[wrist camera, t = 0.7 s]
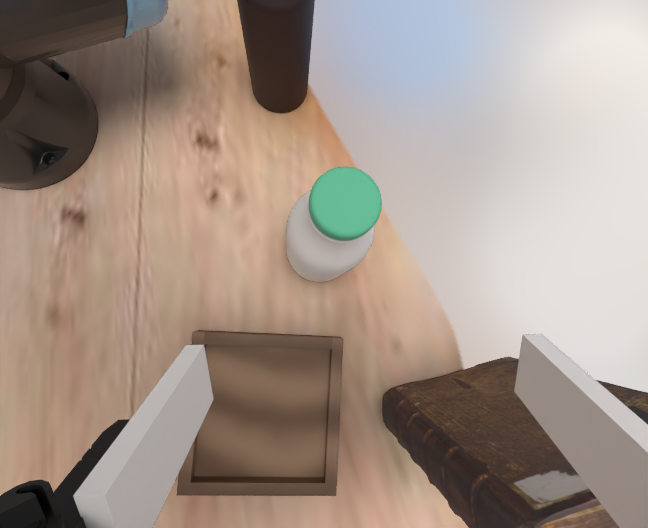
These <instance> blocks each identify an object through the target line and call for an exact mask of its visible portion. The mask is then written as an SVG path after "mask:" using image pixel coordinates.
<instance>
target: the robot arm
mask: <svg viewBox="0 0 648 528" xmlns="http://www.w3.org/2000/svg"><path fill="white" fill-rule="evenodd" d="M167 9H168V0H0V186H1V187H5V188H10V189H21V190H23V189H36V188H41V187H45V186H48V185H51V184H54V183H56V182H58V181H60V180H62V179H64V178H66V177H67V176H69V175H70V174H72V173H73V172H74V171H75V170H76V169H78V168H79V167H80V166H81V164H82V163H83V162H84V161H85V160H86V158H87V157H88V155H89V154H90V152H91V150H92V148H93V146H94V143H95V140H96V136H97V130H98V118H97V112H96V108H95V105H94V103H93V100H92V99H91V97H90V95H89V93H88V92H87V91H86V89H85V88H84V87H83V86H82V85H81V84H80V83H79V81H78V80H77V79H76V78H75V77H74V76H73V75H72V74H71V73H70V72H69V71H68V70H66V69H65V68H64V67H63V66H61V65H60V64H58V63H57V62H55V61H54V60H52V59H50V58H48V57H52V56H56V55H59V54H63V53H66V52H70V51H74V50H77V49H81V48H85V47H88V46H92V45H95V44H99V43H103V42H106V41H110V40H114V39H117V38H121V37H122V38H128V37H129V36H131V35H132V33H133V32H136V31H139V30H142V29H145V28H148V27H151V26H153V25H156V24H158V23H159V22H161V21H162V20H163V18H164V16H165V15H166V13H167ZM514 392H515V393H516V394H517V395H518V397H519V398H520V399H521V401H522V402H523V403H524V405H525V406H526V407H527V408H528V410H529V411H530V412H531V414H532V415H533V416H534V417H535V419H536V420H537V421H538V423H539V424H540V425H541V427H542V428H543V429H544V430H545V432H546V433H547V434H548V436H549V437H550V438H551V439H552V441H553V442H554V443H555V445H556V446H557V447H558V449H559V450H560V451H561V452H562V454H563V455H564V456H565V458H566V459H567V460H568V462H569V463H570V464H571V465H572V467H573V468H574V469H575V471H576V472H577V473H578V474H579V476H580V477H581V478H582V480H583V481H584V482H585V484H586V485H587V486H588V487H589V489H590V490H591V491H592V493H593V494H594V495H595V497H596V498H597V499H598V500H599V502H600V503H601V504H602V506H603V507H604V508H605V509H606V511H607V512H608V513H609V515H610V516H611V517H612V519H613V520H614V521H615V522H616V524H617V525H618V526H619V528H648V413H646V412H644V411H643V410H641V409H639V408H637V407H635V406H625V405H624V404H623V403H622V402H621V401H620V400H618V399H617V398H616V397H615V396H614V395H613V394H611V393H610V392H609V391H608V390H607V389H606V388H604V387H603V386H602V385H601V384H600V383H599V382H597V381H596V380H595V379H594V378H593V377H592V376H590V375H589V374H588V373H587V372H586V371H584V370H583V369H582V368H581V367H580V366H579V365H577V364H576V363H575V362H574V361H573V360H572V359H571V358H569V357H568V356H567V355H566V354H565V353H563V352H562V351H561V350H560V349H559V348H558V347H557V346H555V345H554V344H553V343H552V342H551V341H549V340H548V339H547V338H546V337H545V336H544V335H542V334H525V335H523V336H522V343H521V349H520V357H519V363H518V369H517V376H516V383H515V390H514ZM212 402H213V393H212V387H211V382H210V376H209V370H208V364H207V359H206V353H205V347H204V345H186V346H185V347H184V349H183V350H182V351H181V353H180V354H179V355H178V357H177V358H176V359H175V361H174V362H173V363H172V365H171V366H170V367H169V369H168V370H167V371H166V373H165V374H164V375H163V377H162V378H161V379H160V381H159V382H158V383H157V385H156V386H155V387H154V389H153V390H152V391H151V393H150V394H149V395H148V397H147V398H146V399H145V401H144V402H143V403H142V405H141V406H140V407H139V409H138V410H137V411H136V413H135V414H134V415H133V417H132V418H131V419H130V420H118V421H117V422H115V423H114V424H113V425H111V426H110V427H109V428H107V429H106V430H105V431H104V432H102V434H101V435H100V436H99V437H98V439H97V440H96V441H95V442H94V444H93V445H92V447H91V449H89V450H88V451H87V452H86V453H85V455H84V456H83V457H82V460H81V461H79V462H78V463H77V464H76V466H75V467H74V468H73V469H72V471H71V472H70V473H69V474H68V475H67V477H66V478H65V479H64V480H63V482H62V483H61V484H60V485H59V487H58V488H57V489H56V490H55V491H54V493H53V490H52V488H51V486H50V484H49V482H46V481H43V480H35V481H29V482H26V483H23V484H21V485H18V486H16V487H14V488H12V489H11V490H9V491H7V492H5V493H4V494H2V495H1V496H0V528H153V526H154V524H155V522H156V520H157V518H158V516H159V514H160V511H161V509H162V507H163V505H164V503H165V501H166V499H167V497H168V495H169V492H170V490H171V488H172V486H173V484H174V482H175V480H176V478H177V475H178V473H179V471H180V469H181V467H182V465H183V463H184V461H185V459H186V456H187V454H188V452H189V450H190V448H191V446H192V444H193V442H194V440H195V437H196V435H197V433H198V431H199V429H200V427H201V425H202V423H203V421H204V418H205V416H206V414H207V412H208V410H209V408H210V406H211V404H212Z"/></svg>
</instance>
